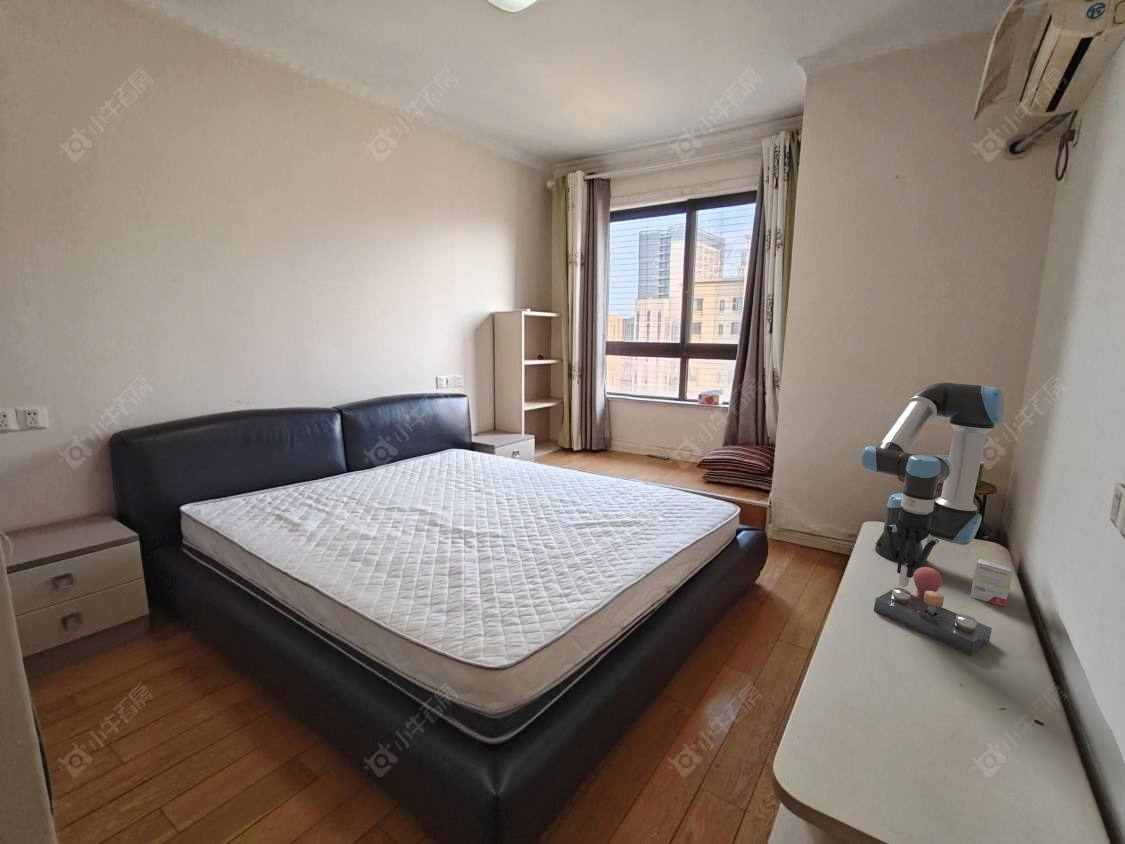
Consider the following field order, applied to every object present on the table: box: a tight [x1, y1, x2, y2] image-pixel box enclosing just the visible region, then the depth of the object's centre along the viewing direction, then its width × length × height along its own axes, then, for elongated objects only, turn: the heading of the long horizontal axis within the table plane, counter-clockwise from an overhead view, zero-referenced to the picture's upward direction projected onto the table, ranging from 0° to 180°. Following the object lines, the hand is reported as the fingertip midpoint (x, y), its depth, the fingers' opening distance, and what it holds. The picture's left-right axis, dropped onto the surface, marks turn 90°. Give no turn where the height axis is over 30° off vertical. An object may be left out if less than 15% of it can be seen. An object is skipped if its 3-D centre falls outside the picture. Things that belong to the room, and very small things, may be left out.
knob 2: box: [923, 591, 945, 616], centre depth 142 cm, size 4×4×6 cm
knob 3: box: [955, 613, 978, 632], centre depth 136 cm, size 4×4×6 cm
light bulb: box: [912, 566, 943, 600], centre depth 153 cm, size 7×7×12 cm
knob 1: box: [892, 587, 912, 603], centre depth 149 cm, size 4×4×6 cm
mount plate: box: [873, 589, 993, 657], centre depth 143 cm, size 12×24×4 cm, turn 32°
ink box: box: [970, 558, 1014, 608], centre depth 157 cm, size 9×5×12 cm, turn 46°
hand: (903, 585), depth 149 cm, fingers closed
